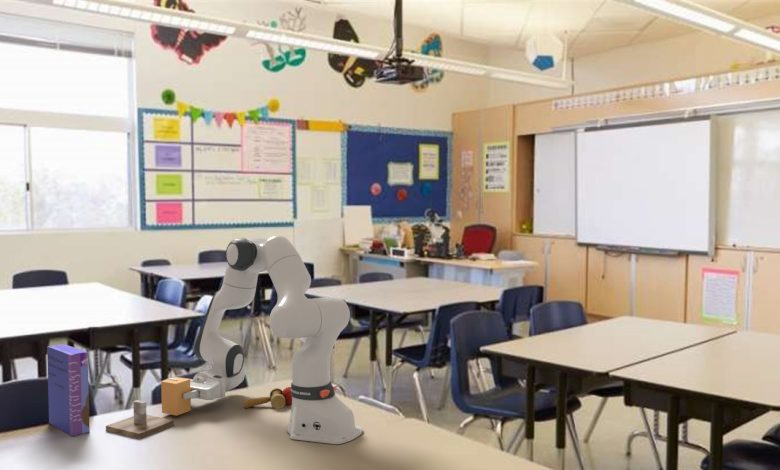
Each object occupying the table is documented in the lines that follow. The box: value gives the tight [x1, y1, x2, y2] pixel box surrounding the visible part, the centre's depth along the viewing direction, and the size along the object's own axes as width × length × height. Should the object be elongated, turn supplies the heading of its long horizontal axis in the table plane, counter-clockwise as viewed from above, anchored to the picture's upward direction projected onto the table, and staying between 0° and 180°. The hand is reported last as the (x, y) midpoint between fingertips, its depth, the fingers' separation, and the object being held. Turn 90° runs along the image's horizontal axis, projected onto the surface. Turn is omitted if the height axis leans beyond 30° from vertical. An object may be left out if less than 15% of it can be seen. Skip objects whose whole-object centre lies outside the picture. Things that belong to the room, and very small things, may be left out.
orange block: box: [160, 376, 192, 416], centre depth 207 cm, size 6×6×10 cm
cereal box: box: [46, 343, 91, 437], centre depth 195 cm, size 17×5×24 cm, turn 48°
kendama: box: [243, 386, 292, 409], centre depth 217 cm, size 8×6×18 cm
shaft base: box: [105, 399, 175, 440], centre depth 195 cm, size 14×13×8 cm
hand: (173, 395), depth 206 cm, fingers closed on orange block, 6 cm apart
